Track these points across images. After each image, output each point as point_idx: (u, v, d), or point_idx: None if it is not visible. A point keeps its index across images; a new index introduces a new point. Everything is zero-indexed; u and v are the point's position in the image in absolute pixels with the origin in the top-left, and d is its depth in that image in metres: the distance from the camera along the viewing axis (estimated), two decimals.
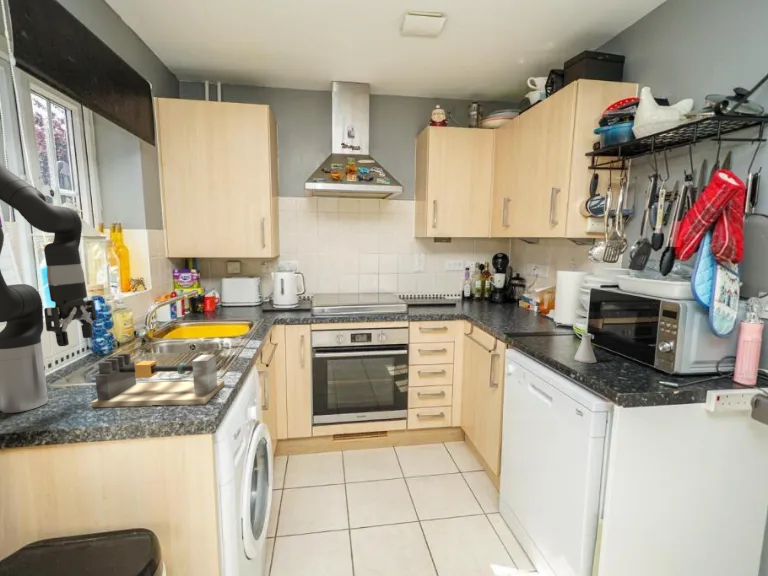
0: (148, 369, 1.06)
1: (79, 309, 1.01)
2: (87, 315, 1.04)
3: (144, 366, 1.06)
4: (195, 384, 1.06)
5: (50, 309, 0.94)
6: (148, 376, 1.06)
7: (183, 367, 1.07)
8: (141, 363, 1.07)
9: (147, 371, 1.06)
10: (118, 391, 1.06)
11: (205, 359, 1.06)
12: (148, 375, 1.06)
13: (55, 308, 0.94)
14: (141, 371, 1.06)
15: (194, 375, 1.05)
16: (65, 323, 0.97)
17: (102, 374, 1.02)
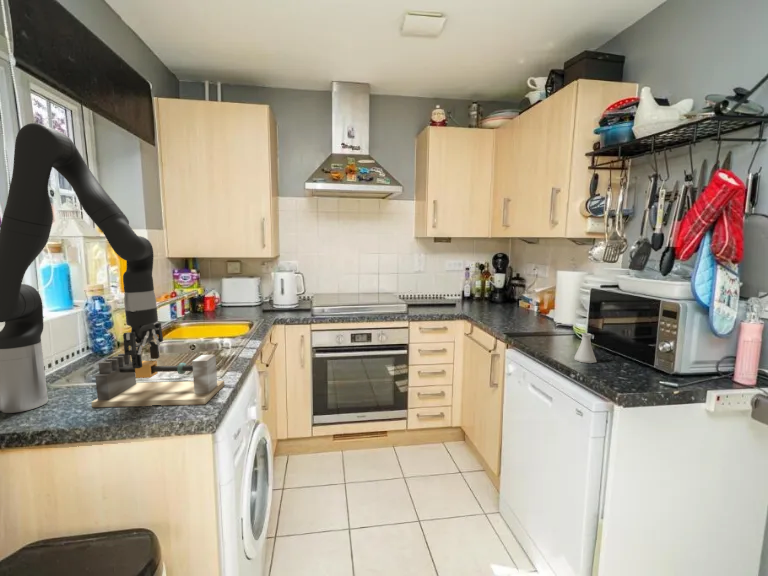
0: (148, 369, 1.06)
1: (150, 332, 1.07)
2: (156, 338, 1.10)
3: (144, 366, 1.06)
4: (195, 384, 1.06)
5: (129, 334, 1.00)
6: (148, 376, 1.06)
7: (183, 367, 1.07)
8: None
9: (147, 371, 1.06)
10: (118, 391, 1.06)
11: (205, 359, 1.06)
12: (148, 375, 1.06)
13: (133, 333, 1.00)
14: (141, 371, 1.06)
15: (194, 375, 1.05)
16: (140, 347, 1.03)
17: (102, 374, 1.02)
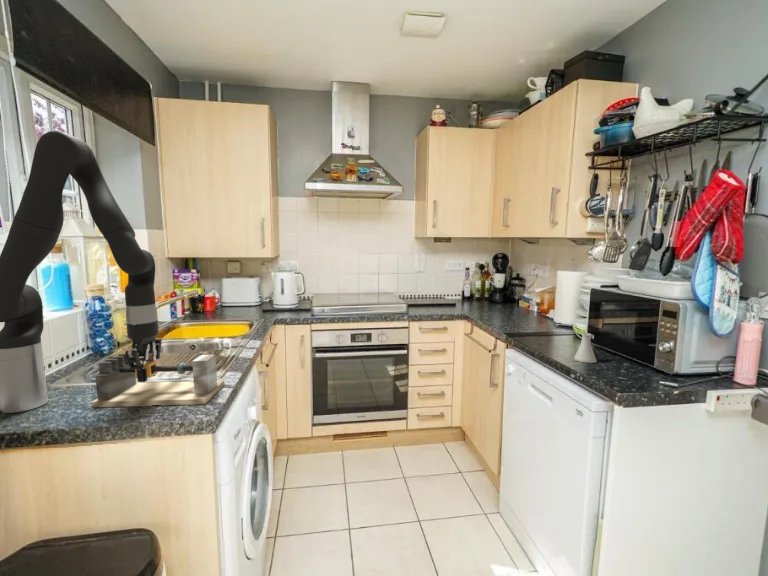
0: (148, 369, 1.06)
1: (151, 345, 1.08)
2: (155, 353, 1.09)
3: None
4: (195, 384, 1.06)
5: (130, 353, 1.00)
6: (148, 376, 1.06)
7: (183, 367, 1.07)
8: (141, 363, 1.07)
9: (147, 371, 1.06)
10: (118, 391, 1.06)
11: (205, 359, 1.06)
12: (148, 375, 1.06)
13: (135, 351, 1.01)
14: None
15: (194, 375, 1.05)
16: (144, 361, 1.05)
17: (102, 374, 1.02)
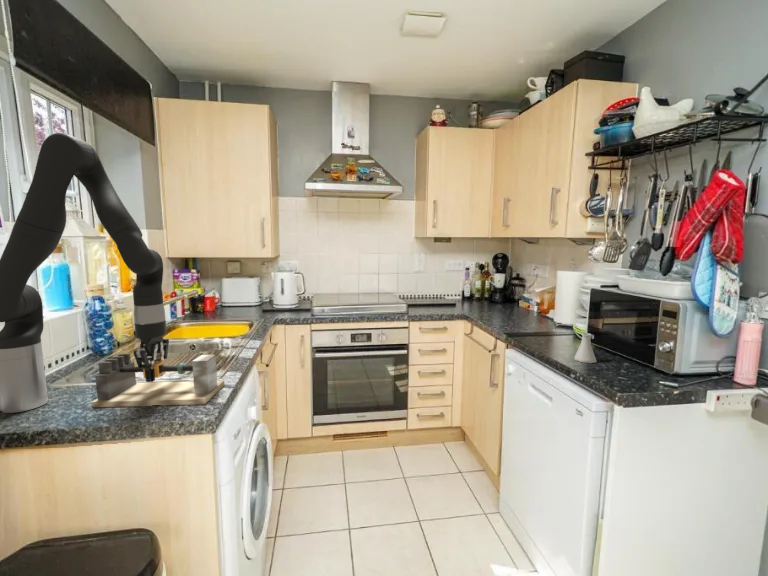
0: (156, 369, 1.06)
1: (159, 344, 1.08)
2: (162, 353, 1.09)
3: None
4: (195, 384, 1.06)
5: (139, 353, 1.00)
6: (156, 376, 1.06)
7: (183, 367, 1.07)
8: (149, 363, 1.07)
9: (155, 371, 1.06)
10: (118, 391, 1.06)
11: (205, 359, 1.06)
12: (156, 375, 1.06)
13: (143, 351, 1.01)
14: None
15: (194, 375, 1.05)
16: (152, 361, 1.05)
17: (102, 374, 1.02)
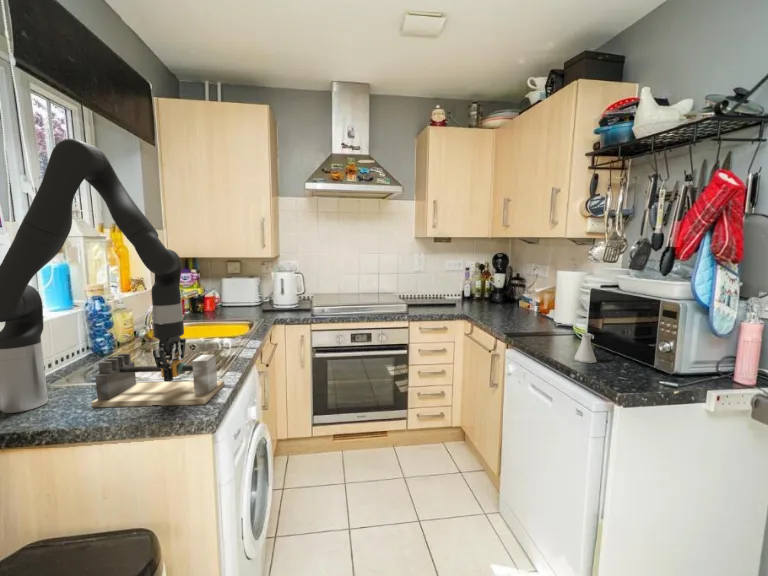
0: (174, 368, 1.06)
1: (176, 344, 1.08)
2: (180, 352, 1.10)
3: None
4: (195, 384, 1.06)
5: (158, 352, 1.01)
6: (174, 375, 1.06)
7: (183, 367, 1.07)
8: None
9: (173, 370, 1.06)
10: (118, 391, 1.06)
11: (205, 359, 1.06)
12: (174, 374, 1.06)
13: (162, 351, 1.01)
14: None
15: (194, 375, 1.05)
16: (170, 361, 1.05)
17: (102, 374, 1.02)
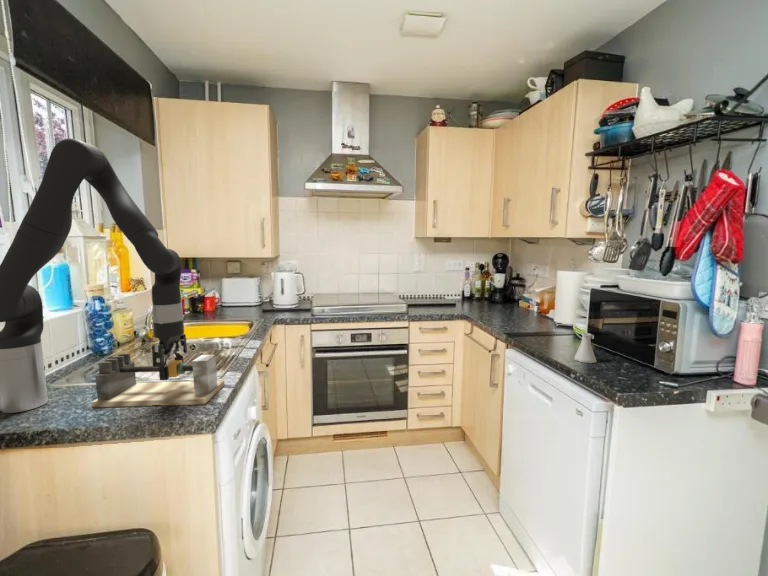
0: (174, 368, 1.06)
1: (177, 344, 1.08)
2: (182, 349, 1.11)
3: (170, 365, 1.06)
4: (195, 384, 1.06)
5: (157, 347, 1.00)
6: (174, 375, 1.06)
7: (183, 367, 1.07)
8: None
9: (173, 370, 1.06)
10: (118, 391, 1.06)
11: (205, 359, 1.06)
12: (174, 374, 1.06)
13: (161, 346, 1.01)
14: None
15: (194, 375, 1.05)
16: (167, 359, 1.04)
17: (102, 374, 1.02)
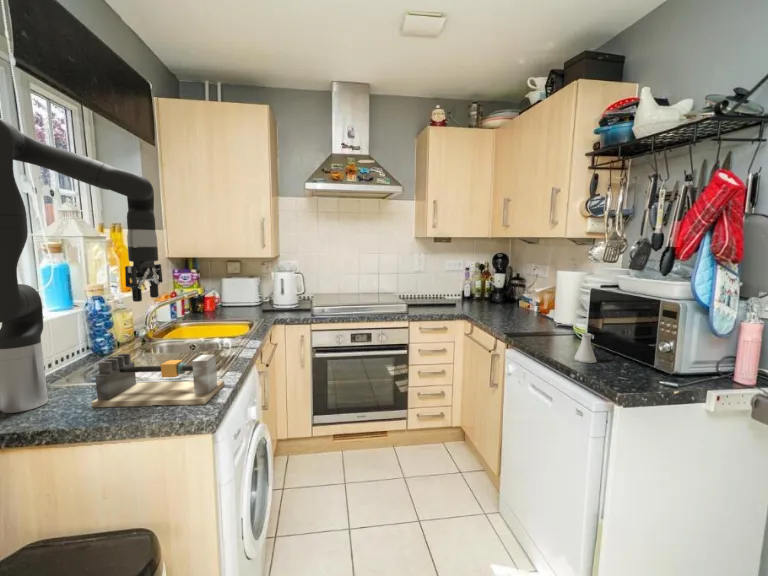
0: (174, 368, 1.06)
1: (151, 270, 1.13)
2: (156, 277, 1.16)
3: (170, 365, 1.06)
4: (195, 384, 1.06)
5: (130, 267, 1.06)
6: (174, 375, 1.06)
7: (183, 367, 1.07)
8: (167, 362, 1.07)
9: (173, 370, 1.06)
10: (118, 391, 1.06)
11: (205, 359, 1.06)
12: (174, 374, 1.06)
13: (134, 267, 1.06)
14: (167, 370, 1.06)
15: (194, 375, 1.05)
16: (140, 281, 1.09)
17: (102, 374, 1.02)
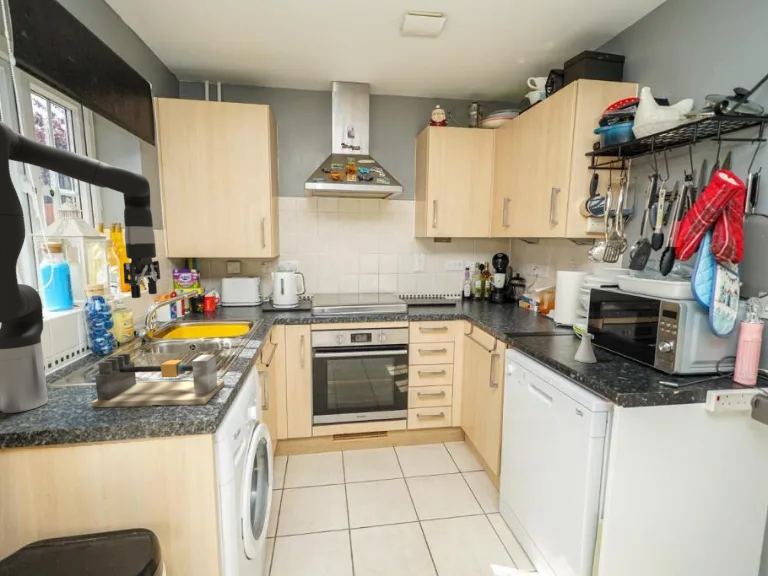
0: (174, 368, 1.06)
1: (149, 267, 1.14)
2: (154, 273, 1.17)
3: (170, 365, 1.06)
4: (195, 384, 1.06)
5: (128, 264, 1.06)
6: (174, 375, 1.06)
7: (183, 367, 1.07)
8: (167, 362, 1.07)
9: (173, 370, 1.06)
10: (118, 391, 1.06)
11: (205, 359, 1.06)
12: (174, 374, 1.06)
13: (133, 263, 1.07)
14: (167, 370, 1.06)
15: (194, 375, 1.05)
16: (139, 278, 1.10)
17: (102, 374, 1.02)
